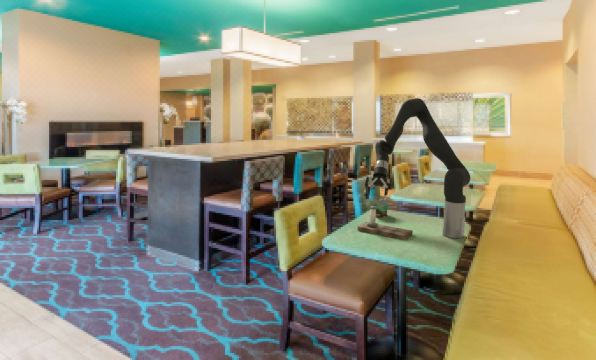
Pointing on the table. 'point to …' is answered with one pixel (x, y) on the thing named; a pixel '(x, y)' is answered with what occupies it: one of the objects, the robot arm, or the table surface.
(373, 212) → the fader
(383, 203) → the potted plant
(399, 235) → the brown wooden board
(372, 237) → the table surface
